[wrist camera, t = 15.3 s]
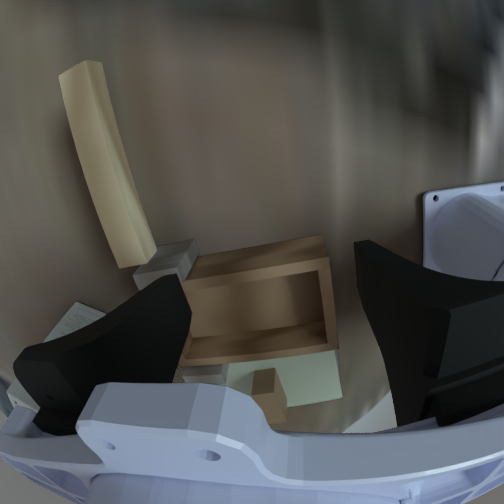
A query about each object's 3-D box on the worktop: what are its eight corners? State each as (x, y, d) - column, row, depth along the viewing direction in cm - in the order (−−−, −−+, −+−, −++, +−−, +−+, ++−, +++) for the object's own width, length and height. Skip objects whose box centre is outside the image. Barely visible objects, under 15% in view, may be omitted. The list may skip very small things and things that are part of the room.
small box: (79, 341, 30) (23, 427, 18) (76, 299, 27) (3, 390, 16) (143, 368, 30) (100, 468, 19) (147, 327, 28) (91, 440, 16)
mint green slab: (332, 338, 26) (337, 369, 22) (341, 391, 29) (345, 420, 26) (195, 360, 28) (186, 390, 25) (224, 408, 32) (219, 435, 28)
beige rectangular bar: (101, 62, 14) (85, 59, 12) (157, 250, 18) (147, 263, 17) (75, 76, 14) (58, 75, 12) (130, 255, 19) (119, 268, 17)
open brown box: (318, 215, 22) (327, 240, 18) (334, 333, 26) (341, 370, 22) (151, 247, 24) (128, 275, 20) (195, 350, 28) (184, 385, 24)
